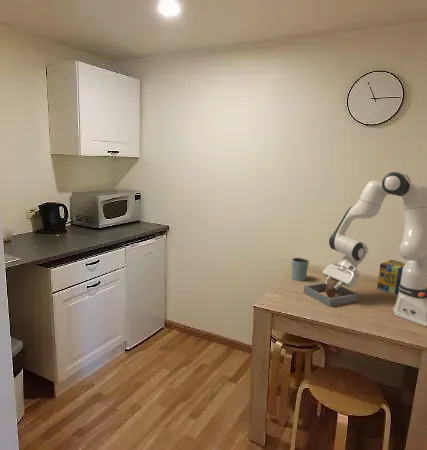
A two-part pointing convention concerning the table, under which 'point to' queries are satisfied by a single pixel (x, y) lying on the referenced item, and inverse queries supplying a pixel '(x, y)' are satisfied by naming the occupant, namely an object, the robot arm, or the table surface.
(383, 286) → the protein box
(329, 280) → the walnut post
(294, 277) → the teal cup
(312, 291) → the shallow gray dish
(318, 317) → the table surface
